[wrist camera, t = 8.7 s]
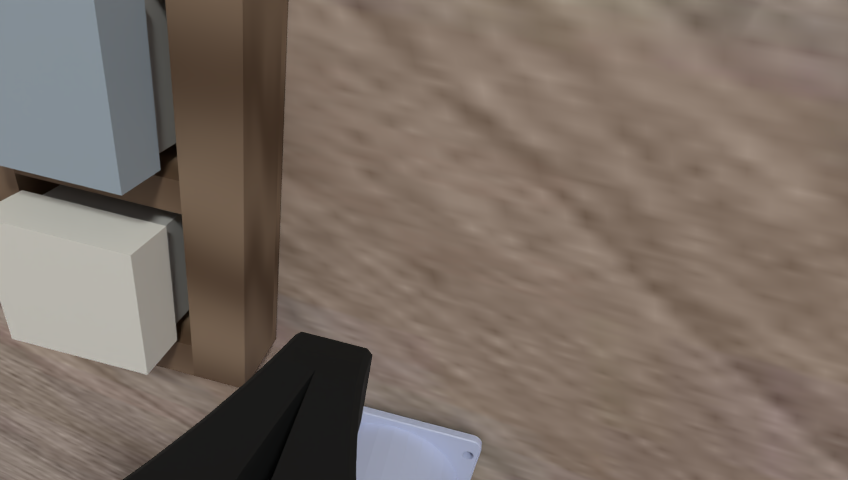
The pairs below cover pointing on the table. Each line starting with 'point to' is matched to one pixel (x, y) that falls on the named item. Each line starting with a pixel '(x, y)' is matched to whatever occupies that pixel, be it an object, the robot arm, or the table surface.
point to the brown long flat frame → (218, 180)
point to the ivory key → (92, 275)
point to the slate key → (85, 90)
